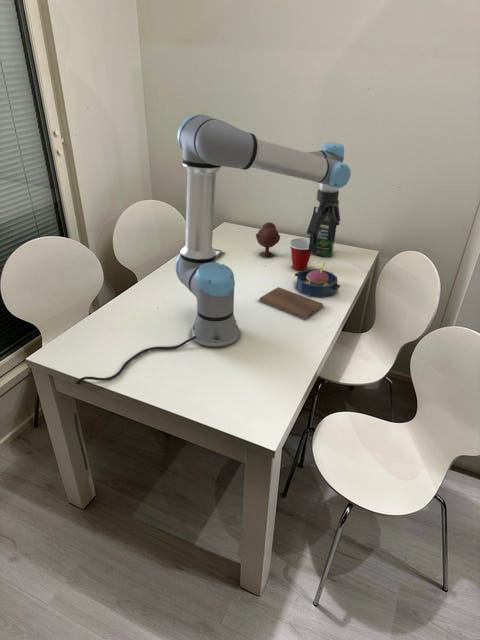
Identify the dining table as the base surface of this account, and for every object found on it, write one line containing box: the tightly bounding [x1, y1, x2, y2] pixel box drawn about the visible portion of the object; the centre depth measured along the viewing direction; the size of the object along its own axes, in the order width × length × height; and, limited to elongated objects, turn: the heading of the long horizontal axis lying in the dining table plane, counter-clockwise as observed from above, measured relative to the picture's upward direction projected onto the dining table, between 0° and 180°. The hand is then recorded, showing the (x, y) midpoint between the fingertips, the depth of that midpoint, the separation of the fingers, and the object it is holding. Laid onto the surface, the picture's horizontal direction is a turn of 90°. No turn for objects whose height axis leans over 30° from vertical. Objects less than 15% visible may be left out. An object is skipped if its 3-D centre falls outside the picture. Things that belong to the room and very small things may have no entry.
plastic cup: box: [288, 237, 312, 272], centre depth 194 cm, size 11×11×12 cm
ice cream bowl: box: [255, 221, 281, 259], centre depth 204 cm, size 11×11×15 cm
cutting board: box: [259, 286, 324, 320], centre depth 169 cm, size 12×20×2 cm, turn 51°
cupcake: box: [306, 260, 328, 286], centre depth 178 cm, size 9×8×12 cm
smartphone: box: [213, 248, 223, 259], centre depth 204 cm, size 7×1×15 cm
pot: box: [294, 268, 341, 298], centre depth 180 cm, size 16×19×4 cm
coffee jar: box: [311, 216, 338, 258], centre depth 206 cm, size 10×8×19 cm
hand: (321, 246), depth 172 cm, fingers open, 13 cm apart
